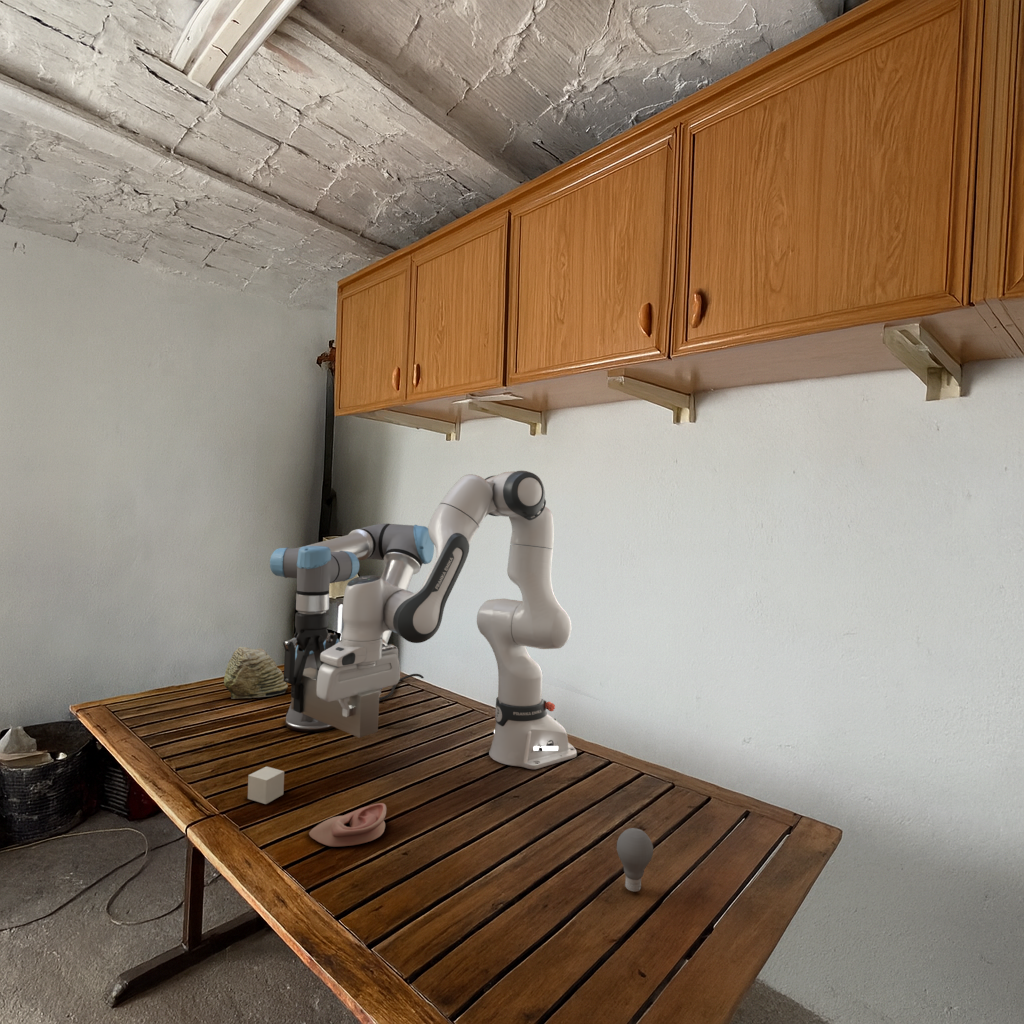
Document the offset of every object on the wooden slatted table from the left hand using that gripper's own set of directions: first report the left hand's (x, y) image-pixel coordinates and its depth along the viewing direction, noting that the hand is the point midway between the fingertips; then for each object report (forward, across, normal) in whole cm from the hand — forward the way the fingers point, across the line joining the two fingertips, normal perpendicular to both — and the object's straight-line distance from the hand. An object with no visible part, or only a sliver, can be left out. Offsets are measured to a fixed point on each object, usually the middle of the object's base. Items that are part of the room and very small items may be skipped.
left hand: (308, 708), depth 151 cm
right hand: (-4, 0, +19) cm, 19 cm away
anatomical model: (+13, +13, +34) cm, 38 cm away
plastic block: (+13, +16, +10) cm, 23 cm away
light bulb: (+13, -8, +83) cm, 84 cm away
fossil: (+13, -17, -53) cm, 57 cm away
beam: (0, 0, +10) cm, 10 cm away
